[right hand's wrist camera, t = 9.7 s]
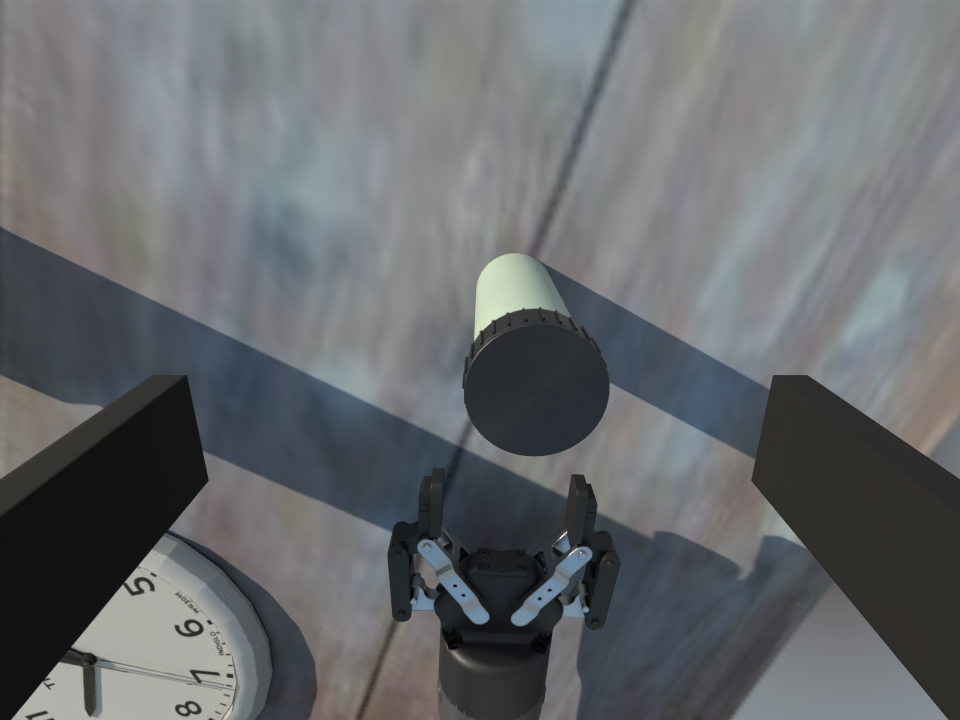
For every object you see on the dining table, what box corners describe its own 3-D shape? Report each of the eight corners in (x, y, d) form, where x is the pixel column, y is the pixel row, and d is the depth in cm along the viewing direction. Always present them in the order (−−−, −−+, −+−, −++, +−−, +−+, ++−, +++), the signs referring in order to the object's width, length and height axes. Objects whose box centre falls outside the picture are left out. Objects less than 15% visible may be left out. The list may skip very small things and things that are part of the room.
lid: (612, 414, 23) (624, 439, 21) (485, 446, 24) (485, 472, 22) (584, 289, 21) (595, 304, 19) (446, 327, 22) (442, 345, 20)
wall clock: (327, 741, 48) (42, 814, 52) (332, 723, 49) (54, 795, 53) (135, 464, 38) (-201, 581, 42) (149, 452, 39) (-177, 565, 43)
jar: (559, 316, 36) (610, 427, 21) (488, 335, 36) (491, 457, 22) (542, 243, 34) (585, 313, 20) (467, 265, 34) (456, 347, 20)
